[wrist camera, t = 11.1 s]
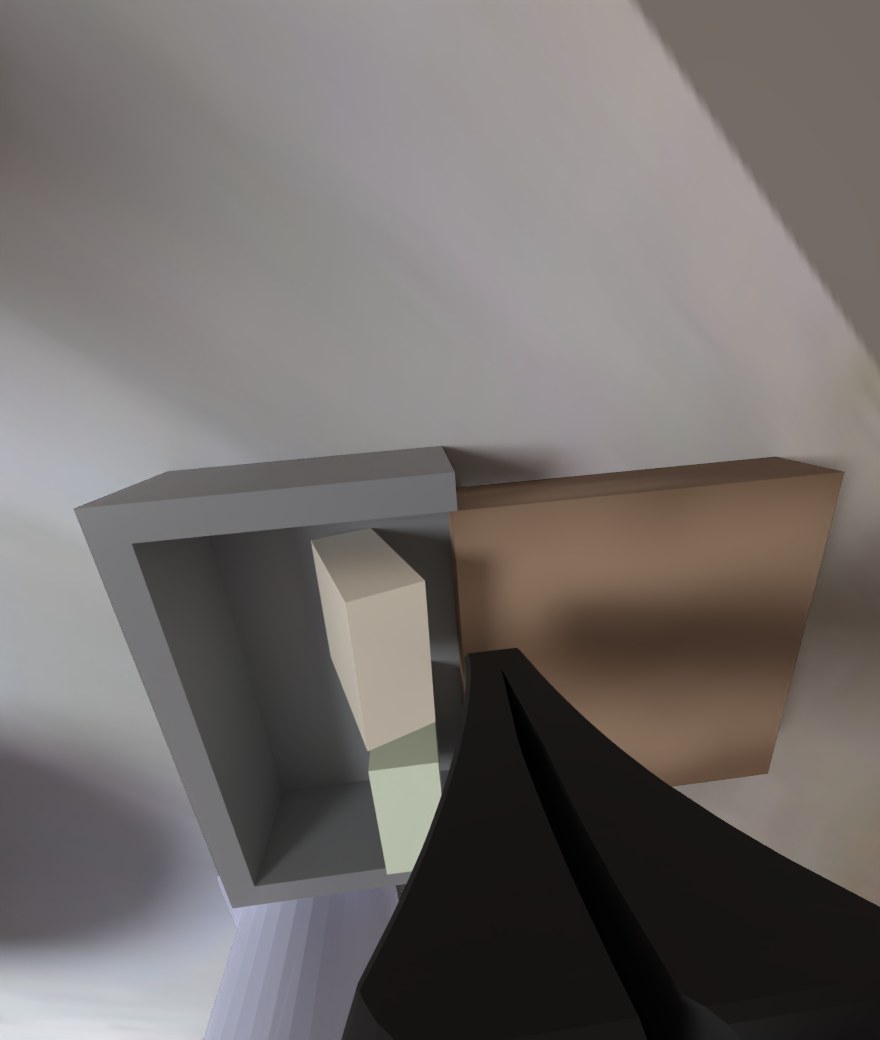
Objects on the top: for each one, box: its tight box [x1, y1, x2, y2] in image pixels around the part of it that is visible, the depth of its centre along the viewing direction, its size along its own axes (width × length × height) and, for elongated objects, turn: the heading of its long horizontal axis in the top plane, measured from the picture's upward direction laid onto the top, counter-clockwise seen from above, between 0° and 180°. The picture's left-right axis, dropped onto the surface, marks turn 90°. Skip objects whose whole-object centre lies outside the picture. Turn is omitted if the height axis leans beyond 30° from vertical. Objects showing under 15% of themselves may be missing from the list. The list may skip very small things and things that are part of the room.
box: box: [74, 446, 463, 909], centre depth 14 cm, size 15×9×4 cm, turn 5°
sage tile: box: [368, 706, 443, 875], centre depth 15 cm, size 4×4×2 cm
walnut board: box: [448, 457, 844, 787], centre depth 16 cm, size 12×12×2 cm
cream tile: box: [311, 528, 435, 751], centre depth 12 cm, size 4×4×2 cm
